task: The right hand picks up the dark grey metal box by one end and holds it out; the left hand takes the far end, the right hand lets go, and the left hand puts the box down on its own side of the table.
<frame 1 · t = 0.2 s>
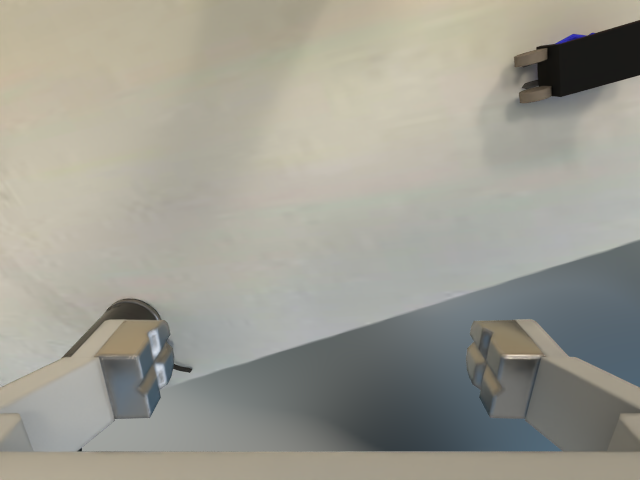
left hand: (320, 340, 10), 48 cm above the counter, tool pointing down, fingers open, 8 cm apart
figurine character: (562, 64, 52), on the counter
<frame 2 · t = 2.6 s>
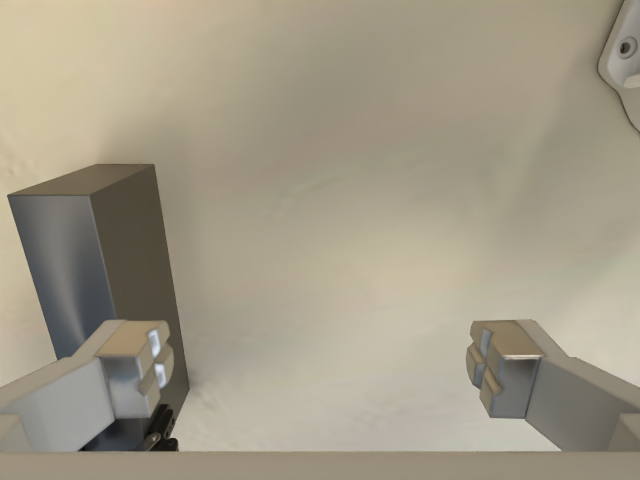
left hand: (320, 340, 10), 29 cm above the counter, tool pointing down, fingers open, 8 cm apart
box: (148, 290, 42), on the counter, touching right hand
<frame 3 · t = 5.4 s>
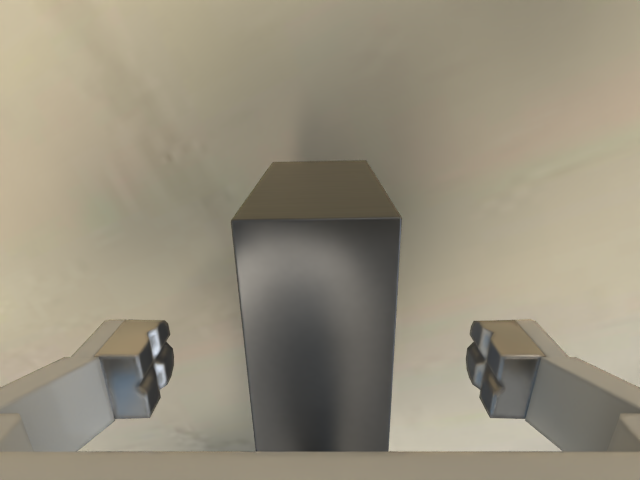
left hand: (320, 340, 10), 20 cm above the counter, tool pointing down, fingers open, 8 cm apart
box: (323, 350, 28), point 6 cm above the counter, touching right hand
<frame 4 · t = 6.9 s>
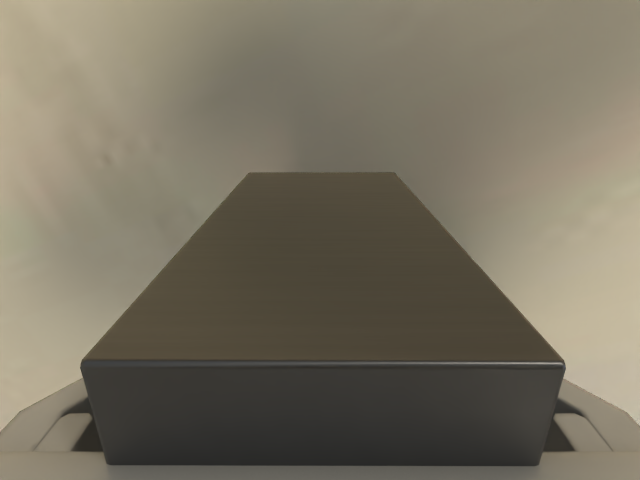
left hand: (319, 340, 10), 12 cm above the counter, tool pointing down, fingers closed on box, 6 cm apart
box: (321, 437, 20), point 6 cm above the counter, touching left hand, right hand
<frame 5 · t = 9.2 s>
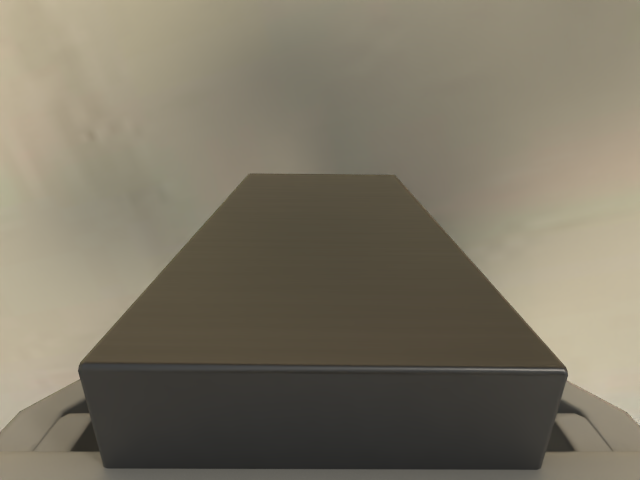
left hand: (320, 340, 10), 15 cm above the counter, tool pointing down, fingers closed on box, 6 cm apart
box: (319, 439, 20), point 9 cm above the counter, touching left hand
when the left hand's fingers open (8 cm above the counter, at t = 11.4 s): box stays where it is, on the counter.
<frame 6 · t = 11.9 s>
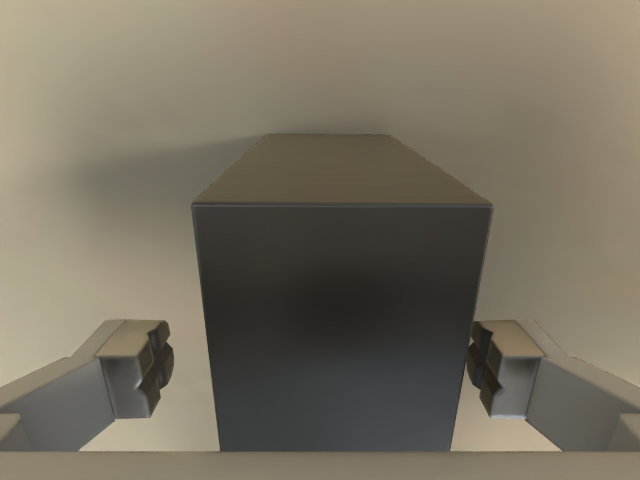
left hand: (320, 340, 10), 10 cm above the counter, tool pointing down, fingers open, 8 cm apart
box: (324, 375, 23), on the counter
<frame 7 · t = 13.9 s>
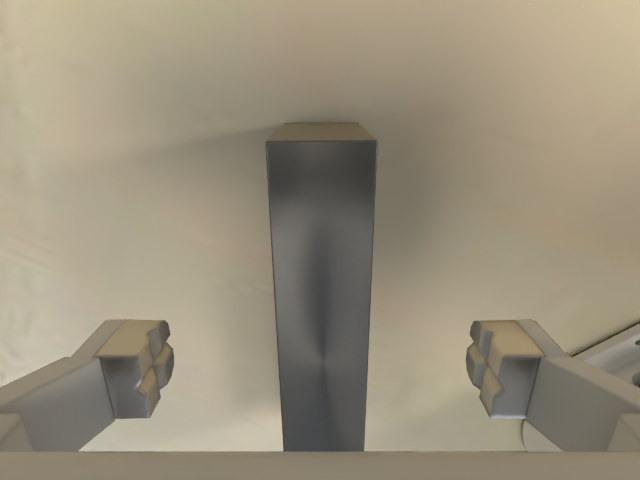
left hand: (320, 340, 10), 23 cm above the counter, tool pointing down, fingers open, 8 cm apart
box: (322, 280, 35), on the counter
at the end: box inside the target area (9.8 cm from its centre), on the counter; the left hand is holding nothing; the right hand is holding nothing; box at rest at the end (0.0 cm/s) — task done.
